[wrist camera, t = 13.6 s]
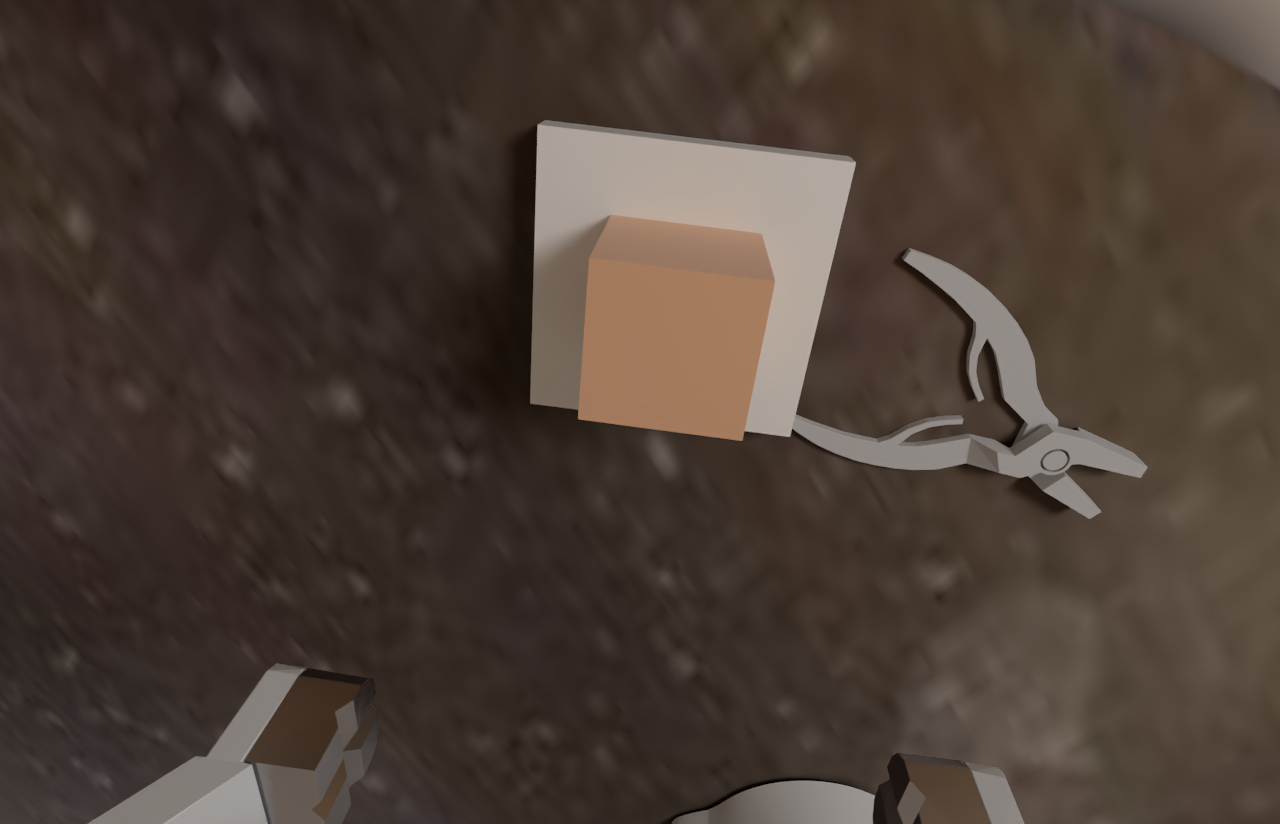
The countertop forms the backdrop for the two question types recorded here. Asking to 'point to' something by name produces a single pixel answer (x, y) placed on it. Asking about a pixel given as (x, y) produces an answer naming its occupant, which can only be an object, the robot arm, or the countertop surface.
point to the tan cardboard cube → (674, 326)
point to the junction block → (689, 194)
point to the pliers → (1040, 438)
